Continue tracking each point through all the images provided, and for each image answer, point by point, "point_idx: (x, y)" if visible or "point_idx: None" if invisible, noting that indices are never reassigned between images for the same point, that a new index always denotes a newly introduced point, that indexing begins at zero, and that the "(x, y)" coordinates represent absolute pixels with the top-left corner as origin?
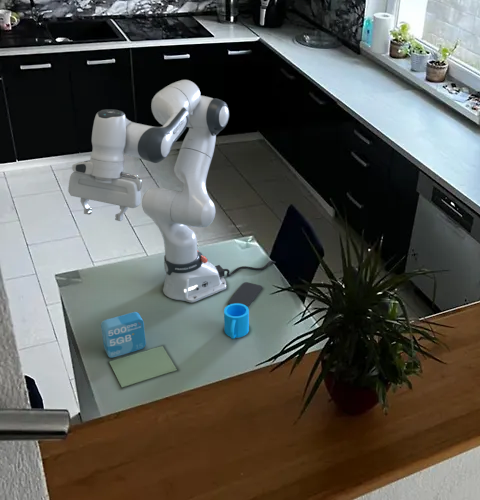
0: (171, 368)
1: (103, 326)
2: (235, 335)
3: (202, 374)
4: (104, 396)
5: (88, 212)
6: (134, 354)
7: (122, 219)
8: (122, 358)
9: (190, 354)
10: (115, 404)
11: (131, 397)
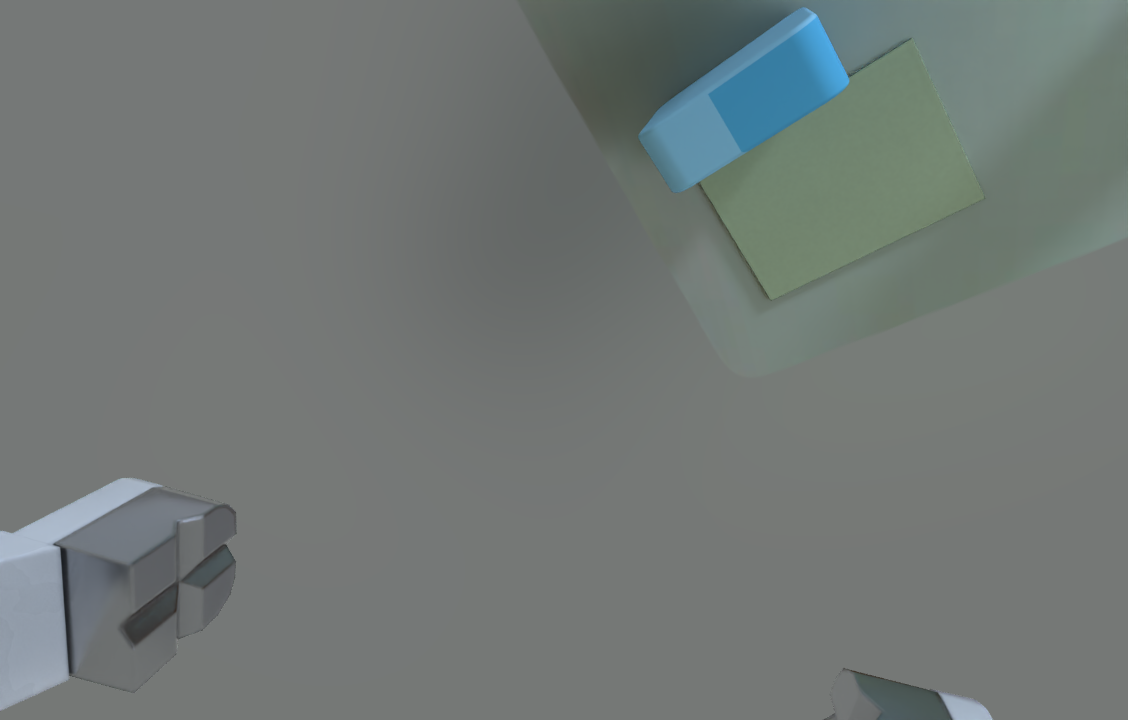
0: (960, 194)
1: (657, 164)
2: None
3: (1106, 213)
4: (722, 336)
5: (194, 628)
6: None
7: (973, 710)
8: None
9: (1059, 81)
10: (765, 366)
11: (812, 339)
